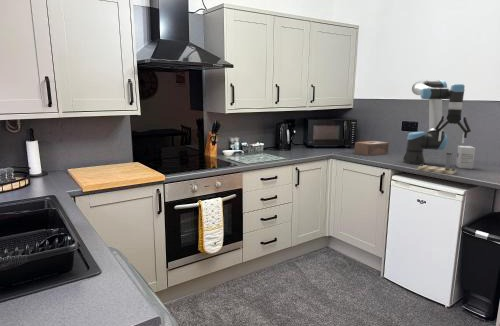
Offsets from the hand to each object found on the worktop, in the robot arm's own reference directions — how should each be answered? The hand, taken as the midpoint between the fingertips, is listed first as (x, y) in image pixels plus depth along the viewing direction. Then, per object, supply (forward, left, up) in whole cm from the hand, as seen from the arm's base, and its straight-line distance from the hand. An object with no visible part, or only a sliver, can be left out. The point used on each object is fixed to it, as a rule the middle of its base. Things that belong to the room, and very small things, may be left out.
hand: (450, 142), depth 226 cm
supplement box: (+3, +30, -21) cm, 36 cm away
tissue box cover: (-71, +40, -21) cm, 84 cm away
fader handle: (0, 0, -18) cm, 18 cm away
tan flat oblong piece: (-6, 0, -20) cm, 21 cm away
